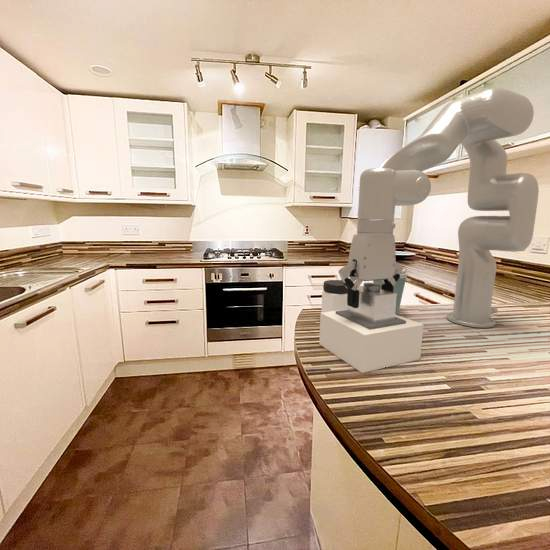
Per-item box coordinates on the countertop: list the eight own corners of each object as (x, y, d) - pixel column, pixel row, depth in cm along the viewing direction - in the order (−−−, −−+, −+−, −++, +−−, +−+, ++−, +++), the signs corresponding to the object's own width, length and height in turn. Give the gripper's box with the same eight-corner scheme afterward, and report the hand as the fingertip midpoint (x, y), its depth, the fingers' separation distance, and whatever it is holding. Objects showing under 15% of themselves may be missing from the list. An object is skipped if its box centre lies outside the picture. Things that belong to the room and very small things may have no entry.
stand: (370, 334, 83) (372, 303, 82) (420, 359, 69) (423, 321, 67) (319, 344, 77) (320, 310, 75) (362, 373, 62) (364, 332, 61)
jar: (326, 315, 100) (327, 278, 97) (352, 318, 96) (354, 281, 94) (318, 323, 92) (319, 283, 89) (346, 327, 88) (348, 286, 86)
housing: (366, 309, 76) (368, 279, 75) (394, 319, 68) (397, 287, 67) (346, 312, 74) (348, 281, 73) (373, 323, 66) (375, 289, 65)
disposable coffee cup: (382, 320, 96) (385, 271, 93) (363, 310, 106) (365, 266, 103) (411, 317, 98) (415, 270, 96) (390, 308, 109) (393, 265, 106)
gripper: (392, 227, 75) (387, 297, 78) (331, 228, 68) (328, 304, 71) (417, 228, 68) (411, 304, 71) (353, 229, 61) (349, 313, 64)
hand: (370, 304), depth 71 cm, fingers open, 9 cm apart
